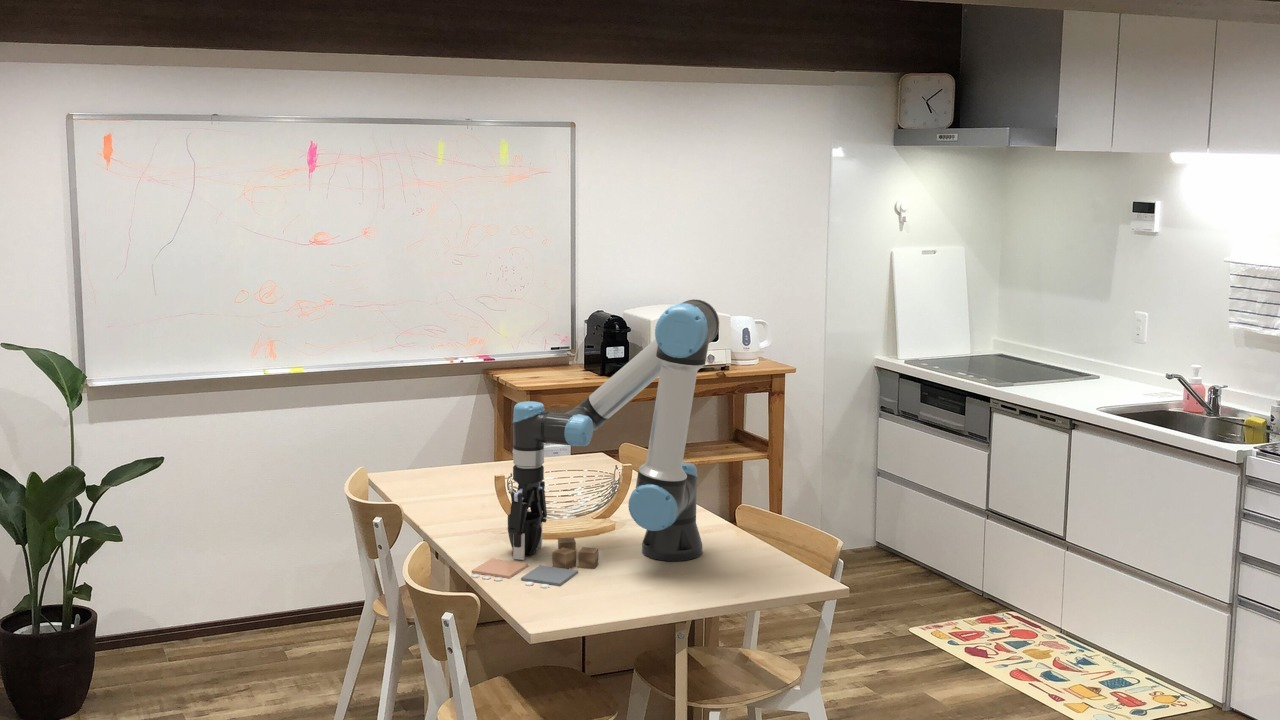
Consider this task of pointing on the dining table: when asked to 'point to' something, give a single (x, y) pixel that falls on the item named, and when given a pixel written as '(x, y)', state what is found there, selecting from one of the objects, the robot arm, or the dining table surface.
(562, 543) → the block
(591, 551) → the block
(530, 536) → the mug
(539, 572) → the pad two
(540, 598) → the dining table surface
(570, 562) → the block
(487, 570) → the pad three
